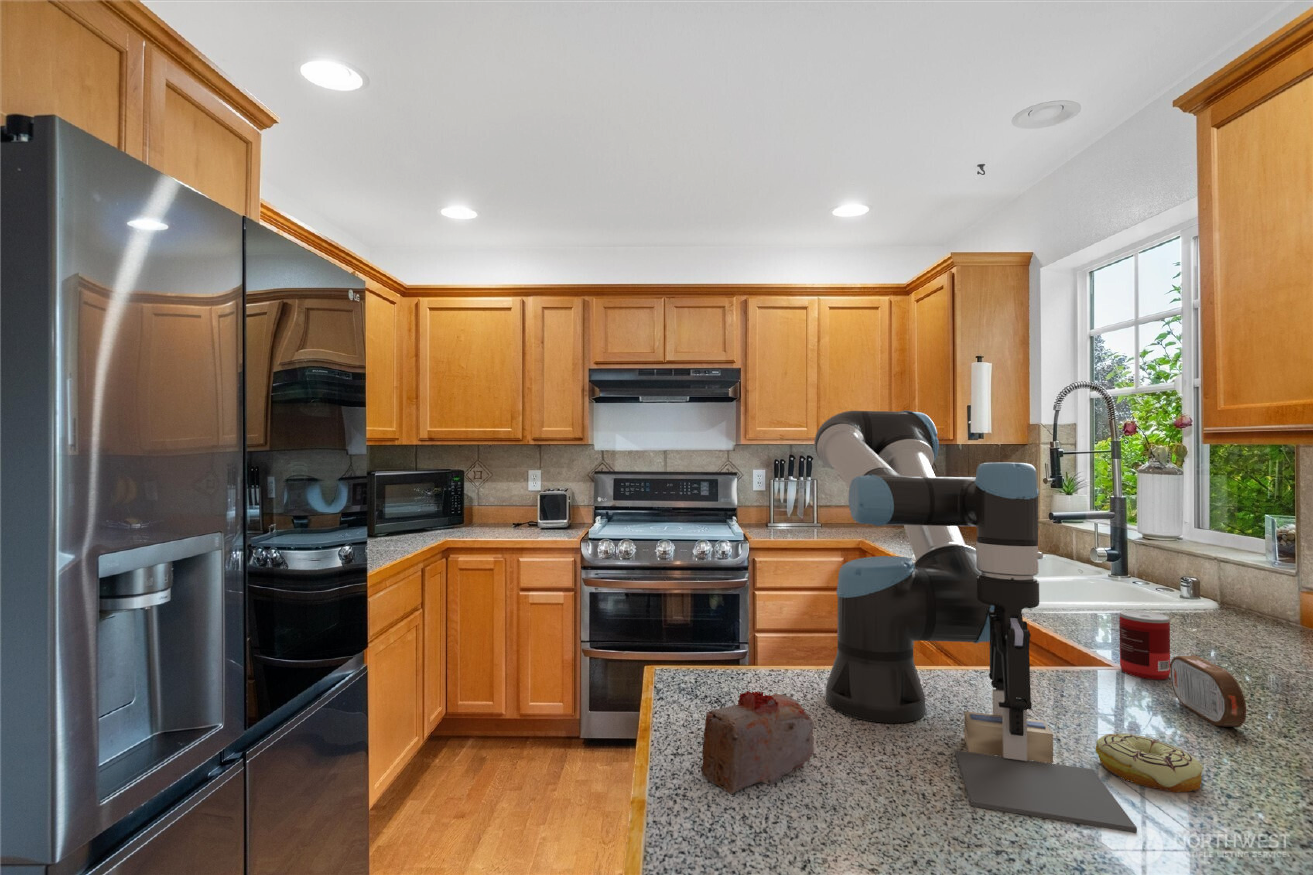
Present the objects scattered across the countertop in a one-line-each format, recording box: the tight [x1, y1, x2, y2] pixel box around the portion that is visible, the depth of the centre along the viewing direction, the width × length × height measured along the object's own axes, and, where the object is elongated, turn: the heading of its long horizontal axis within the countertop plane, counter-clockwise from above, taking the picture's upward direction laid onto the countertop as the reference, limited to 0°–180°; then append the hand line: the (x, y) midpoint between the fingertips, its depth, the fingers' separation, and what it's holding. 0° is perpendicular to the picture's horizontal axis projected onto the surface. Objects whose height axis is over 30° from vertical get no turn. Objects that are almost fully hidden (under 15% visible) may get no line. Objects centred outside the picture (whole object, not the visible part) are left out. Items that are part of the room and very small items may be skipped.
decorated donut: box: [1095, 732, 1204, 793], centre depth 83 cm, size 10×11×4 cm
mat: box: [954, 750, 1138, 833], centre depth 79 cm, size 16×14×1 cm
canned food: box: [1118, 609, 1171, 681], centre depth 124 cm, size 8×8×11 cm
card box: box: [963, 710, 1054, 764], centre depth 89 cm, size 10×4×4 cm, turn 72°
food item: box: [700, 690, 815, 795], centre depth 82 cm, size 14×8×10 cm, turn 126°
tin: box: [1170, 654, 1247, 728], centre depth 103 cm, size 15×3×8 cm, turn 168°
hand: (1009, 747), depth 88 cm, fingers open, 6 cm apart
